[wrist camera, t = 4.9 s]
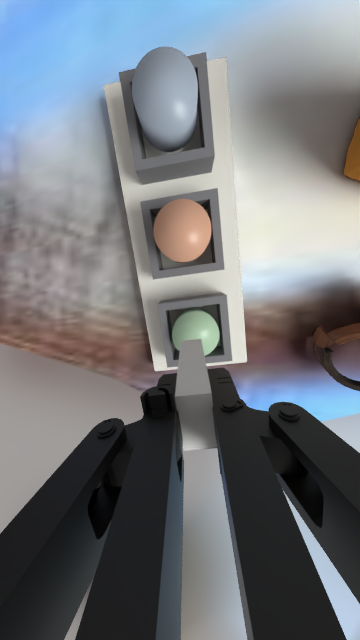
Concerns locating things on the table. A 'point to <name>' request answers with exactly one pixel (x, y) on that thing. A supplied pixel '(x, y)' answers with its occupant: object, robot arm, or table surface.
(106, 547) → the robot arm
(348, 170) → the coffee package
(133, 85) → the slate button
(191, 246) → the terracotta button
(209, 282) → the button panel
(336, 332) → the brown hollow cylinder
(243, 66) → the table surface
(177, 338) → the sage button
